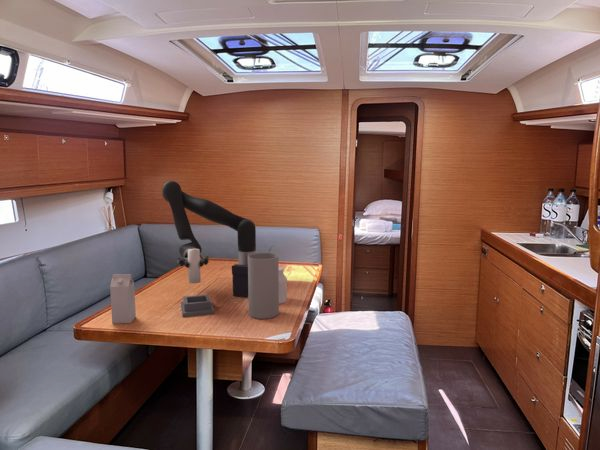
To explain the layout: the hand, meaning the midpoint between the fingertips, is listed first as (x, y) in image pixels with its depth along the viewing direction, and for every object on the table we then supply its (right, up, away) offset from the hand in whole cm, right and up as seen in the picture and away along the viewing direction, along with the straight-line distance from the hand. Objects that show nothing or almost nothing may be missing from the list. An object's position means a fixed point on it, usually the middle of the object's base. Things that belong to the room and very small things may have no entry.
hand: (194, 265), depth 185 cm
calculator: (+18, -17, +23) cm, 34 cm away
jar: (+33, -18, +17) cm, 41 cm away
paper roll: (-1, -8, +4) cm, 8 cm away
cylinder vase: (+29, -21, -2) cm, 36 cm away
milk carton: (-26, -22, -9) cm, 35 cm away
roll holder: (0, -20, +4) cm, 20 cm away
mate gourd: (+24, -10, +72) cm, 77 cm away
